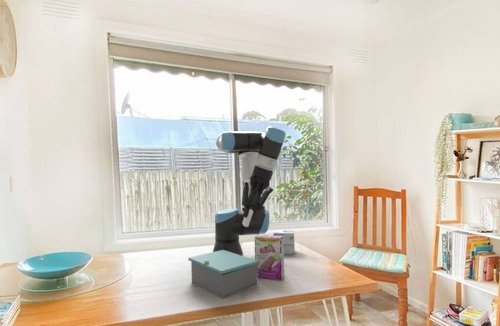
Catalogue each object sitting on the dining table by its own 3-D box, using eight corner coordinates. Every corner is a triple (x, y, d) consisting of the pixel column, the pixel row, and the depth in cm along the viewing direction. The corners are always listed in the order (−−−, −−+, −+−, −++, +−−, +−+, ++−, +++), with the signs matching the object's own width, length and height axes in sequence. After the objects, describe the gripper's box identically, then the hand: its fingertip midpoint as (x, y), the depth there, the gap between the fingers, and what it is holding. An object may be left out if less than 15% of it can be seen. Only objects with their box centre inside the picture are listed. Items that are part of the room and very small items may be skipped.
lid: (188, 260, 116) (188, 255, 116) (223, 252, 127) (223, 247, 127) (221, 274, 100) (221, 268, 100) (257, 263, 112) (257, 258, 112)
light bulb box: (294, 250, 156) (294, 229, 156) (295, 254, 150) (294, 232, 150) (273, 250, 158) (273, 229, 158) (273, 254, 151) (273, 232, 151)
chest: (191, 282, 116) (191, 261, 116) (224, 271, 127) (223, 252, 127) (223, 298, 101) (223, 275, 101) (257, 285, 112) (256, 263, 112)
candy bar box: (254, 278, 119) (253, 236, 120) (258, 273, 124) (257, 234, 124) (282, 281, 116) (281, 238, 116) (284, 276, 121) (284, 235, 121)
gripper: (254, 165, 107) (233, 226, 109) (283, 173, 113) (263, 231, 115) (245, 161, 114) (226, 219, 116) (273, 169, 120) (255, 224, 122)
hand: (245, 225), depth 115 cm, fingers closed
